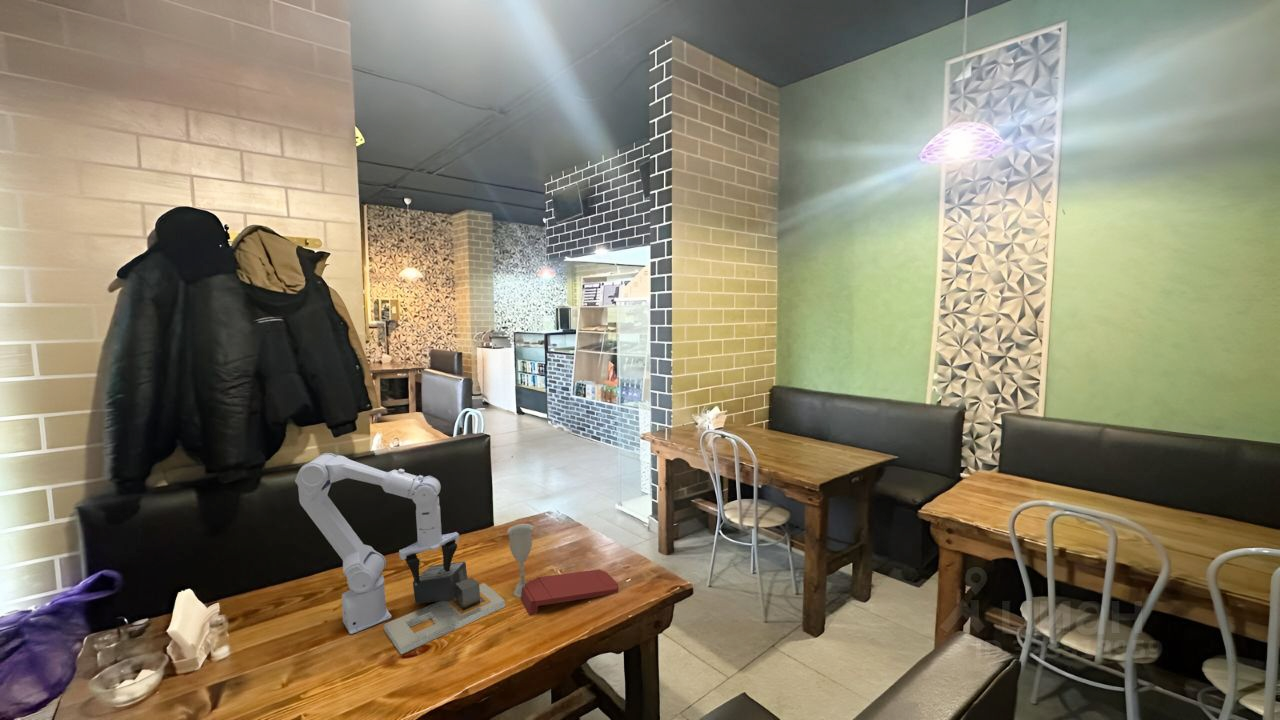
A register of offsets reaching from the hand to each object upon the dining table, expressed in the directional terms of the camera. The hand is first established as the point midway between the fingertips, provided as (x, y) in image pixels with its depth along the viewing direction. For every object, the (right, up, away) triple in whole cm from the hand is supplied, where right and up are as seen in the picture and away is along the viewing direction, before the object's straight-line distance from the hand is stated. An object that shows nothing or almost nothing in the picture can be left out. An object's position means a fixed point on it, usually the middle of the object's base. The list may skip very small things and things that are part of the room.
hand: (432, 575), depth 127 cm
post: (+9, -9, +1) cm, 13 cm away
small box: (0, -5, +12) cm, 13 cm away
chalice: (+22, -8, +9) cm, 25 cm away
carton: (+35, -9, +7) cm, 37 cm away
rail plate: (+5, -10, -3) cm, 11 cm away
